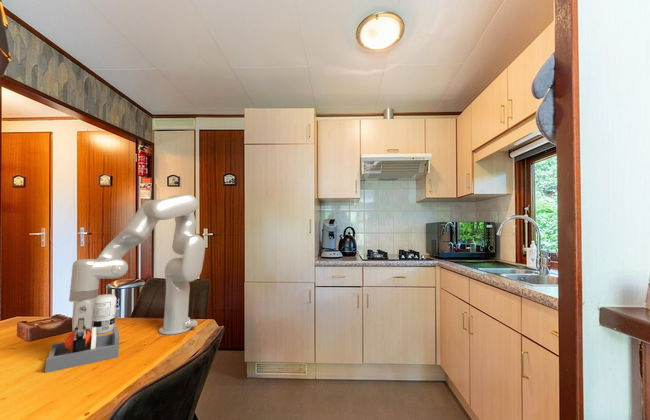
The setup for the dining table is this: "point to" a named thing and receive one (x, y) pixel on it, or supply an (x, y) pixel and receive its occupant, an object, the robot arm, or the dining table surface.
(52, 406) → the dining table surface
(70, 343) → the clementine
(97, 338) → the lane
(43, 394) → the dining table surface
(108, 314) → the supplement can
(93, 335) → the pusher
